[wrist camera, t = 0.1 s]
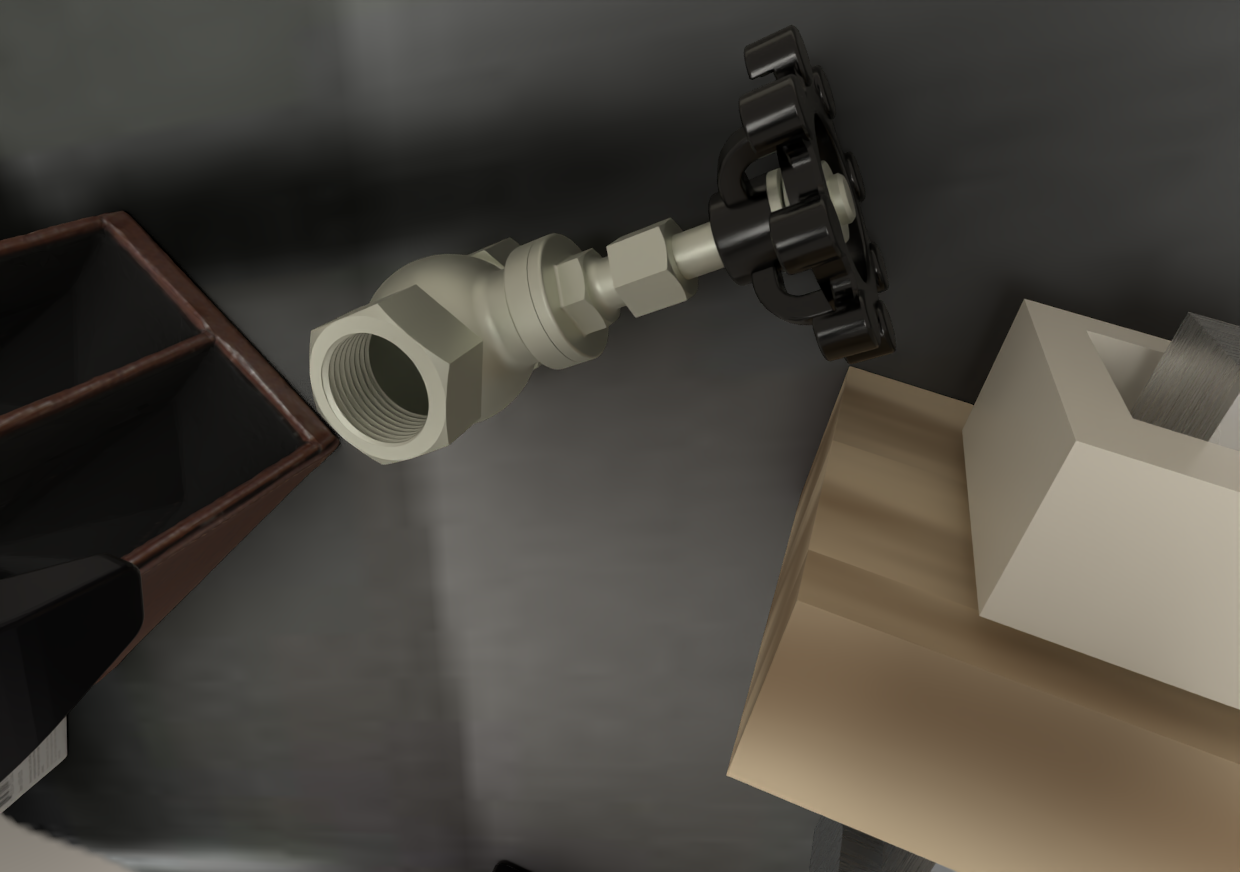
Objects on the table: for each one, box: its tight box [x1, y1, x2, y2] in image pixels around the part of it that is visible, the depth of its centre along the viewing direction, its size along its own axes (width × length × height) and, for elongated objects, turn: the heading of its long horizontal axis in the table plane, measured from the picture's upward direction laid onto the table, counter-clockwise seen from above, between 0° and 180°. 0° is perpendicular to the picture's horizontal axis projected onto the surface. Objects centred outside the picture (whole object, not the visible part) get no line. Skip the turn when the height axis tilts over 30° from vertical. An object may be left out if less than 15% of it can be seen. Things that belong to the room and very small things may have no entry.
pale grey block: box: [809, 312, 1240, 872], centre depth 15 cm, size 17×5×9 cm, turn 167°
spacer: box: [962, 299, 1240, 710], centre depth 13 cm, size 3×7×6 cm, turn 77°
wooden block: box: [727, 366, 1240, 872], centre depth 16 cm, size 4×12×10 cm, turn 77°
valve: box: [309, 25, 896, 465], centre depth 19 cm, size 7×7×12 cm
